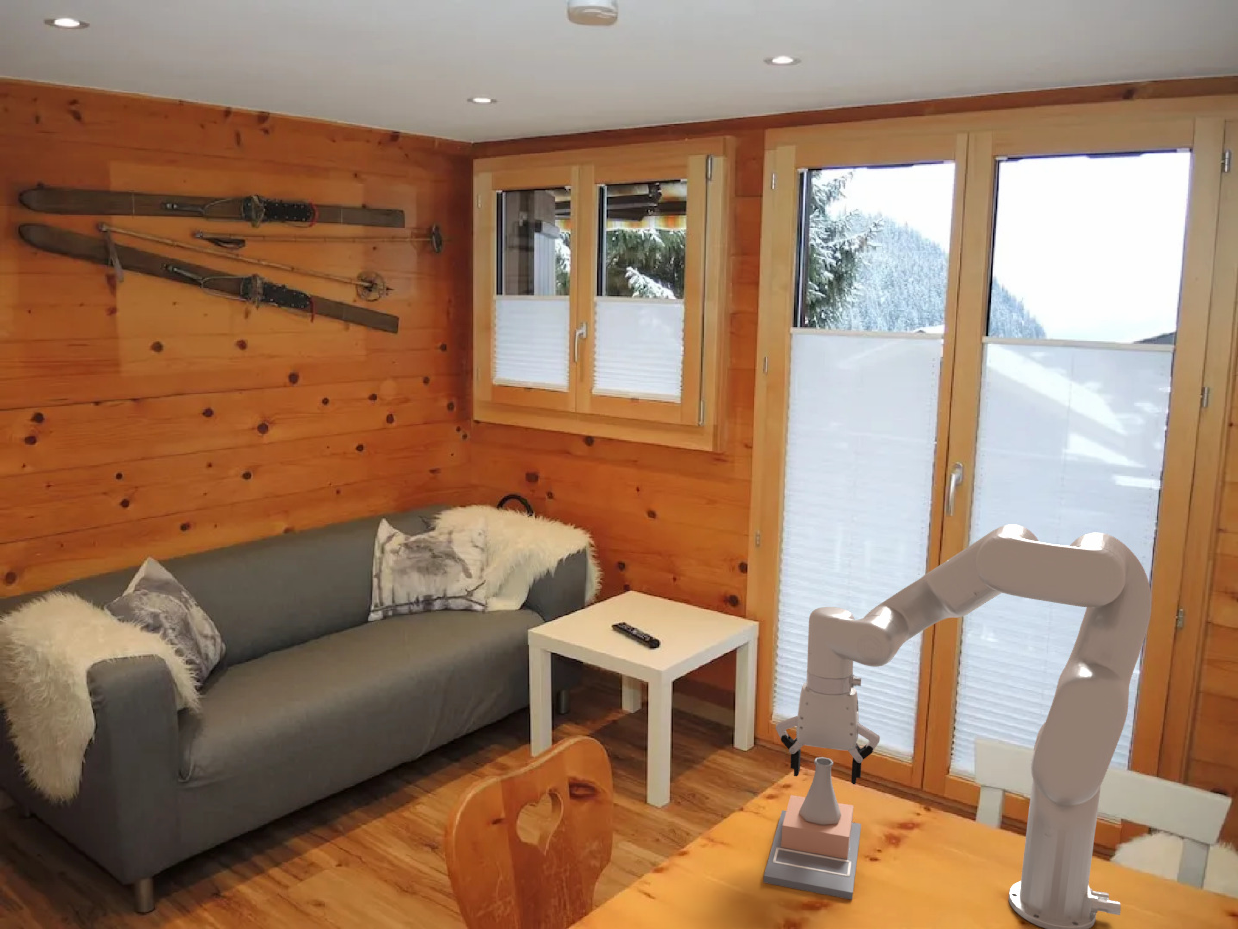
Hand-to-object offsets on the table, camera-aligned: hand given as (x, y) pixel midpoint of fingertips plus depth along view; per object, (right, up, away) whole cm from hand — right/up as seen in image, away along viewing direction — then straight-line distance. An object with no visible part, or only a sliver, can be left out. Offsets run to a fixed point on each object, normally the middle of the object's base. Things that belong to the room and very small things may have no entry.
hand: (825, 777), depth 173 cm
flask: (-1, -7, +2) cm, 8 cm away
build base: (-2, -13, -1) cm, 13 cm away
